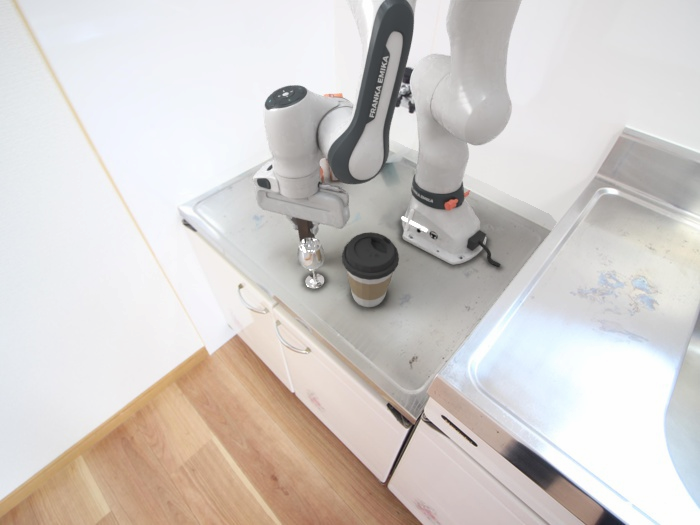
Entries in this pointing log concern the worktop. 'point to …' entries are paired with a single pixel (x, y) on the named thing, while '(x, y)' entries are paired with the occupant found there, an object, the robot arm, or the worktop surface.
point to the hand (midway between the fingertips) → (306, 230)
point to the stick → (304, 228)
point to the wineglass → (311, 260)
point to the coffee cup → (369, 267)
